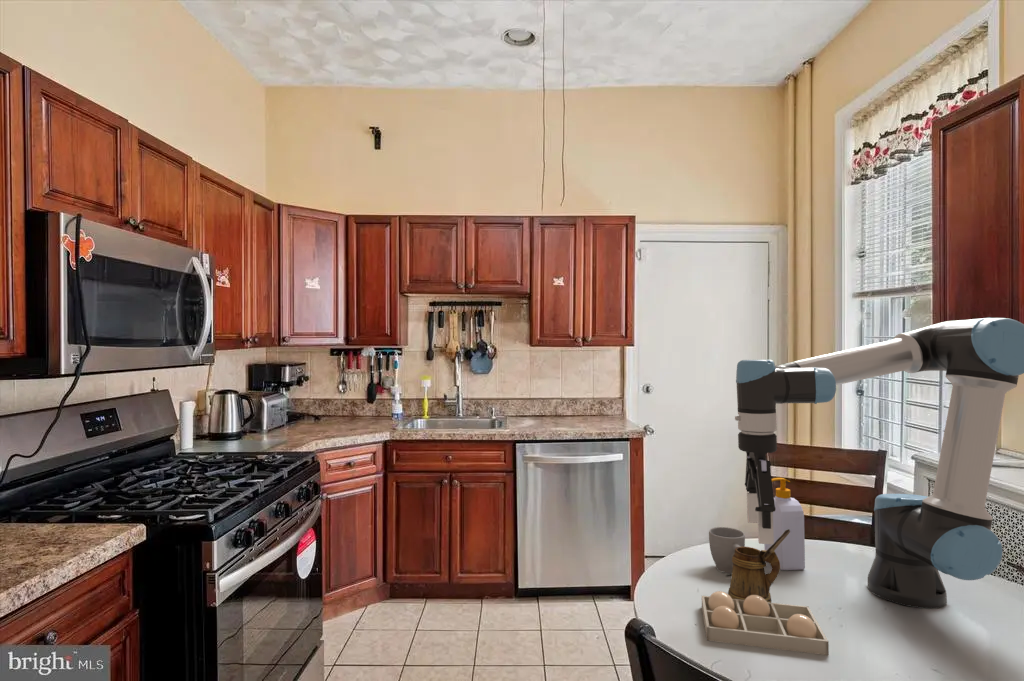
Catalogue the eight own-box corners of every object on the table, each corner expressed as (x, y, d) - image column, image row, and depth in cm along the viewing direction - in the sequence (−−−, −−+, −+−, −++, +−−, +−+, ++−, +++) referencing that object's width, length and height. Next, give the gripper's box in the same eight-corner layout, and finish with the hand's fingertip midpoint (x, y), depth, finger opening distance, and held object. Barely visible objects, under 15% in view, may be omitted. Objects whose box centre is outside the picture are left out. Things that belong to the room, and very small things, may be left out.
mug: (703, 563, 149) (703, 527, 149) (734, 561, 150) (734, 526, 150) (725, 582, 137) (724, 542, 137) (759, 580, 138) (758, 541, 138)
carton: (808, 621, 117) (808, 606, 117) (828, 658, 103) (828, 641, 103) (701, 609, 123) (701, 595, 123) (707, 643, 109) (706, 627, 109)
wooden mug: (785, 619, 118) (784, 534, 118) (722, 600, 127) (721, 522, 127) (796, 604, 125) (795, 524, 125) (735, 588, 134) (734, 513, 134)
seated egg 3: (812, 637, 109) (812, 610, 110) (820, 650, 104) (819, 623, 105) (784, 633, 111) (783, 607, 111) (790, 647, 106) (789, 619, 106)
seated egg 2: (737, 628, 113) (736, 602, 113) (740, 641, 108) (740, 614, 108) (710, 625, 114) (710, 599, 115) (712, 637, 109) (712, 611, 110)
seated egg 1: (732, 612, 120) (732, 588, 120) (736, 624, 115) (735, 598, 115) (707, 609, 121) (707, 585, 121) (709, 621, 116) (709, 596, 116)
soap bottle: (761, 558, 152) (760, 474, 153) (786, 557, 153) (784, 474, 153) (779, 571, 143) (778, 482, 144) (805, 570, 144) (803, 482, 144)
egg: (766, 617, 118) (768, 593, 118) (771, 629, 113) (773, 604, 113) (740, 612, 119) (742, 588, 119) (743, 623, 114) (746, 599, 114)
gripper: (730, 423, 131) (733, 514, 130) (747, 441, 106) (750, 552, 106) (764, 424, 129) (767, 515, 128) (790, 442, 104) (793, 555, 104)
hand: (759, 532), depth 117 cm, fingers open, 13 cm apart
